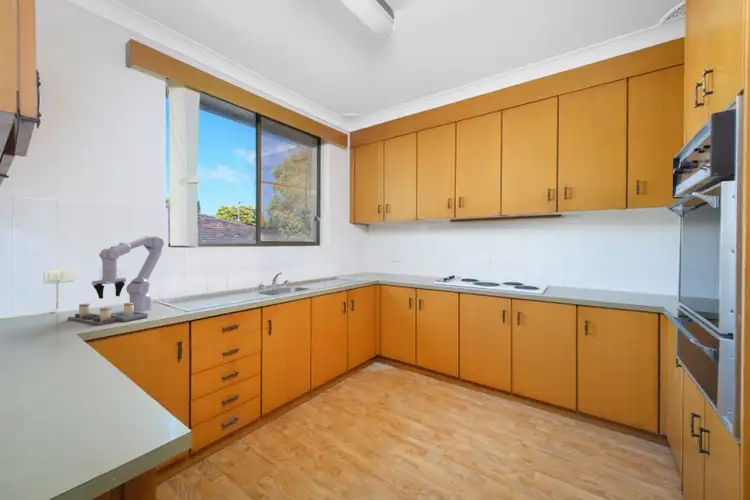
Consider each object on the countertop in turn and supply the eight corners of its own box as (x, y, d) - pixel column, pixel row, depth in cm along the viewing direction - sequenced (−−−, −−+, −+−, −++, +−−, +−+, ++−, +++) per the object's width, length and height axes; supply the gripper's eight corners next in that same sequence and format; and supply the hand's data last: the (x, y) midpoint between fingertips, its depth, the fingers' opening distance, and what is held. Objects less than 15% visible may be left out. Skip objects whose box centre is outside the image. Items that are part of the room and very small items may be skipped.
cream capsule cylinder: (86, 316, 168) (86, 303, 167) (91, 317, 166) (91, 304, 166) (77, 318, 164) (77, 304, 164) (81, 319, 162) (81, 305, 162)
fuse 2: (107, 320, 161) (107, 306, 160) (112, 321, 159) (112, 307, 159) (97, 322, 157) (97, 308, 157) (102, 323, 155) (102, 309, 155)
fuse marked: (128, 315, 169) (128, 302, 169) (135, 316, 169) (136, 302, 169) (121, 317, 165) (121, 303, 165) (129, 317, 164) (129, 304, 164)
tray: (132, 314, 174) (132, 310, 174) (147, 317, 169) (147, 313, 169) (109, 318, 164) (109, 314, 164) (125, 321, 159) (125, 317, 159)
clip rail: (91, 315, 171) (91, 311, 171) (121, 321, 161) (121, 317, 161) (68, 319, 162) (68, 315, 162) (98, 325, 152) (98, 321, 152)
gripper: (120, 270, 177) (120, 294, 178) (88, 272, 164) (88, 298, 165) (128, 270, 175) (128, 295, 175) (96, 273, 161) (96, 300, 162)
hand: (109, 297), depth 170 cm, fingers open, 7 cm apart
